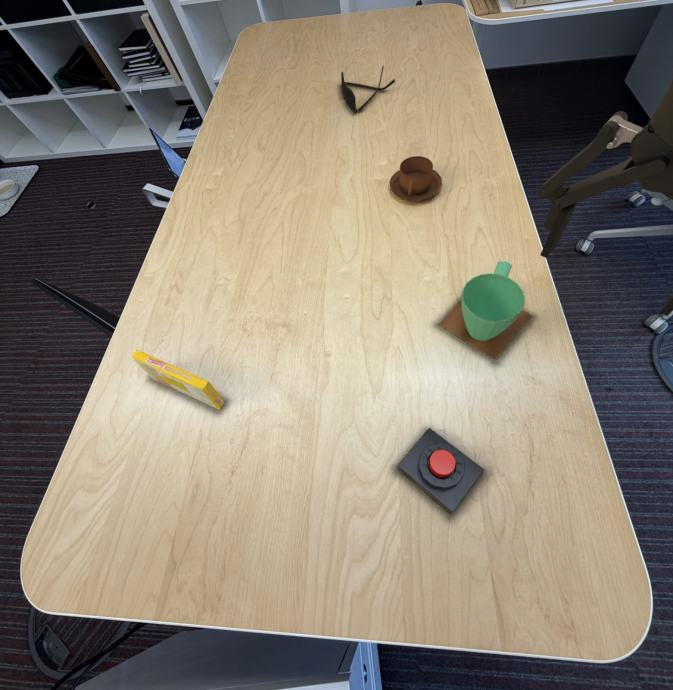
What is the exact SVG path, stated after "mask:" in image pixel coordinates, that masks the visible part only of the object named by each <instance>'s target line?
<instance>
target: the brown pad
mask: <svg viewBox="0 0 673 690" xmlns="http://www.w3.org/2000/svg"><path fill="white" fill-rule="evenodd" d="M532 317H533V315H532V314H531V313H529V312H527V311H525V310H523V309H522V311H521V313H520V315H519V316H518V317H517V318H516V319H515V320H514V322H513V323H512V324H511V325H510V326H508V327H507V328H506V329H505V330H504V331H503V332H501V333H500V334H499V335H497V336H496V337H494V338H492V339H490V340H488V341H478V340H476V339H474V338H473V337H471V335H470V334H469V332H468V330H467V328H466V325H465V321H464V317H463V313H462V303H461V300H459V302H458V303H456V305H455V306H454V307H453V308H452V309H451V310H450V311H449V312H448V313H447V314H446V315H445V317H444V318H443V319H442V320H441V321H440V322H439V323H438V326H439V327H440V328H442V329H444V330H446V331H447V332H448V333H450V334H452V335H454V336H455V337H456V338H458V339H460V340H461V341H463V342H465V343H466V344H468V345H470V346H471V347H473V348H474V349H476V350H477V351H478V352H480V353H483V355H485V356H487V357H488V358H490V359H492V360H494V361H496V360H498V358H499V357H500V356H501V355H502V353H503V352H504V351H505V350H506V348H507V347H508V346H509V345H510V344H511V343H512V342H513V340H514V339H515V337H517V335H518V334H519V333H520V331H521V330H522V329H523V328H524V326H525V325H526V324H527V323H528V322H529V321H530V319H531V318H532Z"/></svg>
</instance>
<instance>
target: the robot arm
mask: <svg viewBox="0 0 673 690" xmlns="http://www.w3.org/2000/svg"><path fill="white" fill-rule="evenodd" d="M628 117H629V116H628V113H627V112H626V111H623V110H619V111H616V112H615V113H614V114H613V115H612V116H611V117H610V118H609V120H607V122H605V123H604V124H603V126H602V127H601V128H600V129H599V131H598V132H597V134H596V136H595V138H594V139H593V141H591V142H590V143H589V144H588V145H587V146H585V147H584V148H583V149H582V150H580V152H579V153H577V154H576V155H575V156H573V157H572V158H571V159H570V160H569V161H568V162H566V163H565V164H563V166H562V167H560V168H559V169H558V170H557V171H555V173H554V174H552V175H551V176H550V177H549V178H548V179H546V181H545V182H544V183H543V184H542V185H541V186H540V187H539V189H537V191H536V193H537V194H536V195H537V196H538V197H539V198H540V199H546V200H548V202H550V208H549V210H548V212H547V215H546V217H545V220H544V222H543V227H544V229H546V230H548V231H550V232H549V234H548V236H547V239H546V240H545V243H544V245H543V248H542V249H541V252H540V254H539V256H541V257H542V258H545V259H546V258H547V257H548V256H549V255H550V254H551V253H552V252H553V251H554V250H555V248H556V247H557V246H558V245H559V243H560V240H561V238H562V236H563V234H564V233H565V230H566V228H567V226H568V224H569V221H570V219H571V217H572V215H573V213H574V211H575V209H576V207H577V205H578V203H579V202H582V201H584V200H587V199H590V198H593V197H595V196H597V195H600V194H602V193H605V192H607V191H611V190H613V189H616V188H620V189H621V188H623V187H625V186H628V185H630V184H634V183H636V182H638V183H639V184H640V185H641V189H642V190H644V191H648V192H650V193H651V192H652V193H658V194H661V195H663V196H665V197H666V198H667V199H670V200H672V201H673V78H672V79H671V81H670V83H669V85H668V87H667V88H666V90H665V92H664V94H663V95H662V98H661V99H660V101H659V103H658V105H657V106H656V108H655V110H654V112H653V114H652V116H651V118H650V119H649V121H648V123H647V124H645V125H644V126H640V125H637V124H635V123H632V122H630V121H628ZM624 143H629V149H630V153H631V156H630V157H629V158H627V159H626V160H625V161H622V162H620V163H618V164H615V165H614V166H611V167H608V168H607V169H605V170H602V171H599V172H598V173H596V174H594V175H593V174H592V175H591V176H589V177H586V178H584V179H581V180H580V181H579V180H578V181H577V182H575V183H572V184H571V185H570V184H569V183H567V182H568V181H569V180H571V179H572V178H573V177H575V176H576V175H577V174H578V173H580V172H581V171H582V170H583V169H585V168H586V167H587V166H588V165H590V164H591V163H592V162H593V161H595V160H596V159H597V158H598V157H599V156H600V155H601V154H602V153H603V152H605V150H606V149H607V150H611V149H617V148H618V147H620V146H621V145H622V144H624ZM565 183H567V185H566V186H564V184H565ZM672 312H673V294H671V295H670V296H669V298H668V299H667V302H666V303H665V304H664V306H663V307H662V309H661V310H660V312H659V313H660V314H662V315H664V316H666V317H668V316H669V315H670V314H671V313H672Z"/></svg>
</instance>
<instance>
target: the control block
mask: <svg viewBox="0 0 673 690" xmlns="http://www.w3.org/2000/svg"><path fill="white" fill-rule="evenodd" d="M437 450H446V451H448V452H450V453H451V454H452V455H453V457H454V459H455V463H456V465H455V468H454V470H453V472H452V474H451V475H449V476H448V477H438V476H436V475H434V474H433V473H432V472H431V470H430V467H429V461H430V457H431V455H432V454H433V453H434V452H435V451H437ZM397 471H399V473H401V474H402V475H403V476H404V477H406V478H407V479H408V480H409V481H410V482H412V483H413V484H414V485H415V486H416V487H417V488H418V489H419V490H421V491H422V492H423V493H425V494H426V495H427V496H428V497H429V498H430V499H432V500H433V501H434V502H435V503H436V504H438V505H439V506H440V507H441V508H442V509H443V510H444V511H446V512H447V513H448V514H449V515H453V514H454V512H455V510H456V509H457V508H458V507H459V505H460V504H461V502H462V501H463V500H464V498H465V497H466V496H467V494H468V493H469V492H470V490H471V489H472V488H473V486H474V485H475V484H476V482H477V481H478V480H479V478H480V477H481V475H482V474H483V473H484V471H485V469H484V468H483V467H482V466H481V465H479V464H477V463H476V462H475V461H474V460H472V459H471V458H470V457H468V456H467V455H466V454H464V453H463V452H462V451H460V450H459V449H458V448H456V447H455V446H454V445H453V444H451V443H450V442H449V441H448V440H446V439H445V438H443V436H441V435H440V434H439V433H438V432H436V431H435V430H433V429H432V428H430V427H428V428H427V430H426V431H425V432H424V433H423V434H422V435H421V437H420V438H419V439H418V440H417V442H416V443H415V444H414V445H413V447H412V448H411V449H410V450H409V451H408V452H407V454H406V455H405V456H404V457H403V458H402V460H401V461H399V463H398V464H397Z"/></svg>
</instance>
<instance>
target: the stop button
mask: <svg viewBox="0 0 673 690" xmlns="http://www.w3.org/2000/svg"><path fill="white" fill-rule="evenodd" d="M455 465H456V463H455V459H454V457H453V455H452V454H451V453H450V452H448V451H446V450H437V451H435V452H434V453H433V454H432V455H431V457H430V461H429V467H430V470H431V472H432V473H433V474H434V475H436V476H438V477H448V476H449V475H451V474H452V472H453V470H454V468H455Z"/></svg>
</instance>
